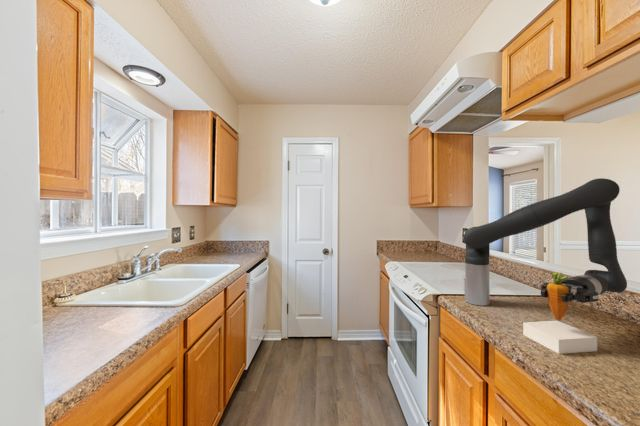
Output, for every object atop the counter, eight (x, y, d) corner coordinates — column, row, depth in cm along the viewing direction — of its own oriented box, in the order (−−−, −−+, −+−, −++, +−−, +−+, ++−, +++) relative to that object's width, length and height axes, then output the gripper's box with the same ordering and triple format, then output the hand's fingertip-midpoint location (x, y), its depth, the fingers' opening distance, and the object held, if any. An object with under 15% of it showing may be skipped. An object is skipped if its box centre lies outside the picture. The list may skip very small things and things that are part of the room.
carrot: (559, 317, 86) (557, 269, 86) (574, 323, 81) (572, 273, 81) (543, 318, 86) (542, 270, 86) (558, 324, 81) (556, 274, 81)
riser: (523, 334, 89) (523, 322, 89) (557, 332, 90) (557, 320, 90) (558, 353, 77) (558, 339, 77) (597, 351, 78) (597, 337, 78)
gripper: (554, 272, 96) (526, 278, 89) (611, 281, 83) (583, 289, 76) (555, 293, 96) (526, 301, 89) (611, 305, 83) (584, 316, 76)
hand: (553, 296), depth 82 cm, fingers closed on carrot, 4 cm apart
